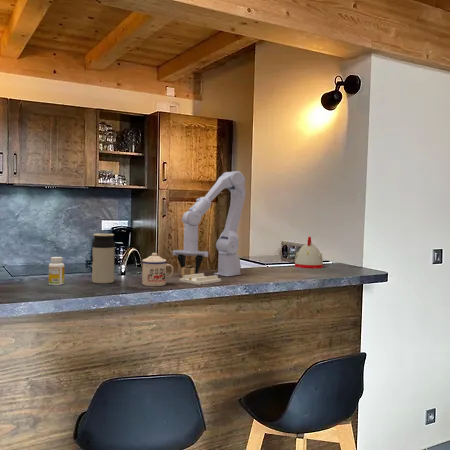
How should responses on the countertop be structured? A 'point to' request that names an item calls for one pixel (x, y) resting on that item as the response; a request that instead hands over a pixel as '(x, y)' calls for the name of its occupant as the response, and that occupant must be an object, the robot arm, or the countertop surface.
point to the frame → (188, 270)
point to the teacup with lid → (155, 271)
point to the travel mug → (103, 258)
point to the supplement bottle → (56, 271)
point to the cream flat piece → (199, 279)
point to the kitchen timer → (309, 256)
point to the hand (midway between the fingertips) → (190, 273)
